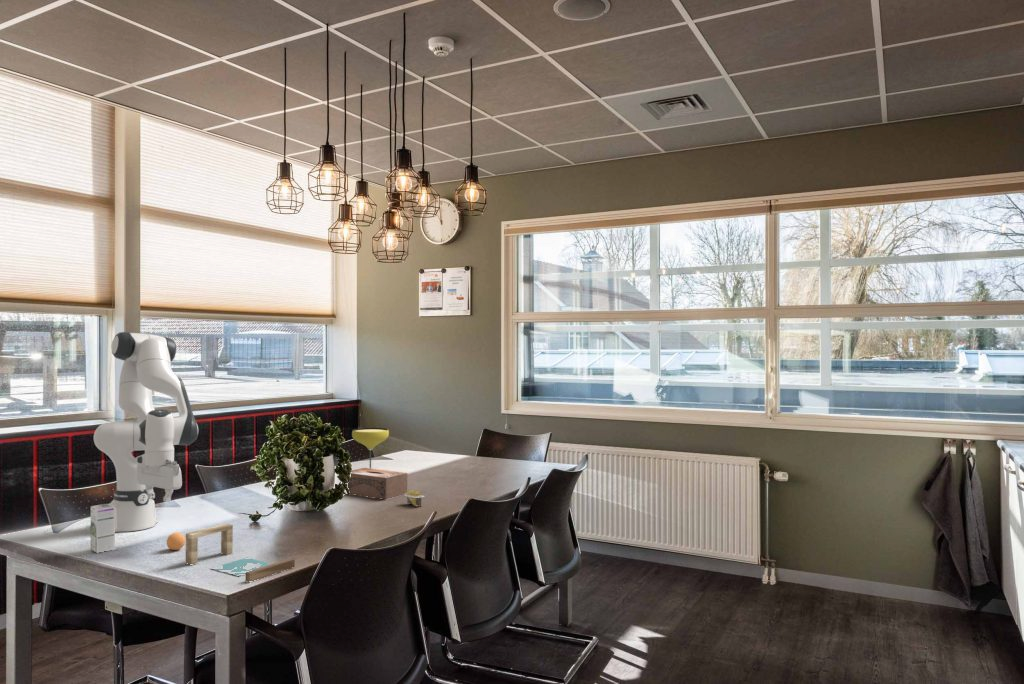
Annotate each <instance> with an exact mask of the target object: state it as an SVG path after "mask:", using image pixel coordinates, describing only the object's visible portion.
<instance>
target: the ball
mask: <svg viewBox="0 0 1024 684" xmlns="http://www.w3.org/2000/svg"><path fill="white" fill-rule="evenodd" d="M184 545H186V536H185V535H184V534H182V533H180V532H174V533H171V534H170V535H168V537H167V539H166V547H167V548H169V550H172V551H178V550H180V549H182V548H183V547H184Z"/></svg>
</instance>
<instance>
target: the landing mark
mask: <svg viewBox="0 0 1024 684" xmlns="http://www.w3.org/2000/svg"><path fill="white" fill-rule="evenodd" d="M245 558H246V557H243V558H241V559H237V560H235V561H231V562H227V563H224V564H221V565H222V566H223V569H214V570H213V571H215V570H232V569H234V568H235V567H237V569H234V570H232V571H231V572H241V571H250V570H255V569H258V568H256V567H255V568H252V569H250V570H246V569H243V566H244V567H245V566H246V565H247V563H253V564H257V563H260V564H262V565H261V566H260V567H259V568H261V567H264V566H268V563H269V562H266V561H262V560H259V559H256V558H255V559H254V558H251V559H245ZM271 564H272V563H271ZM271 564H269V565H271ZM240 567H241V568H240ZM226 573H228V572H226ZM226 573H225V574H226ZM239 574H246V573H235V574H233V575H232V576H234V575H239ZM239 577H242V576H241V575H239Z"/></svg>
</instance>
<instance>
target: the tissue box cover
mask: <svg viewBox="0 0 1024 684" xmlns="http://www.w3.org/2000/svg"><path fill="white" fill-rule="evenodd" d="M348 488H349V491H350V493H349V494H356V495H361V496H360V497H362V496H368V497H375V498H382V499H388V498H392V497H396V496H399V495H403V494H405V493H407V491H408V473H407V472H402V471H395V470H394V471H393V470H388V469H377V468H372V467H371V468H370V467H362V468H357V469H352V473H351V478H350V482H349V483H348ZM349 494H348V495H349ZM403 496H404V495H403ZM368 497H367V498H368ZM399 497H400V496H399ZM375 498H374V499H375ZM396 498H397V497H396ZM382 499H381V500H382ZM392 499H393V498H392Z"/></svg>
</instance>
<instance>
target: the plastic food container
mask: <svg viewBox="0 0 1024 684" xmlns="http://www.w3.org/2000/svg"><path fill="white" fill-rule="evenodd" d="M420 493H421V491H417V490H411V489H409V490H407V493H405V494H404V495H403V496H404V497H406V498H407V499H406V502H407V503H410V504H413V505H412V506H414V505H415V506H416V505H420V506H421V507H422V498H425V495H424V494H420ZM407 503H406V504H407ZM415 506H414V507H415ZM420 506H419V507H420ZM416 507H417V506H416Z"/></svg>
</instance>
